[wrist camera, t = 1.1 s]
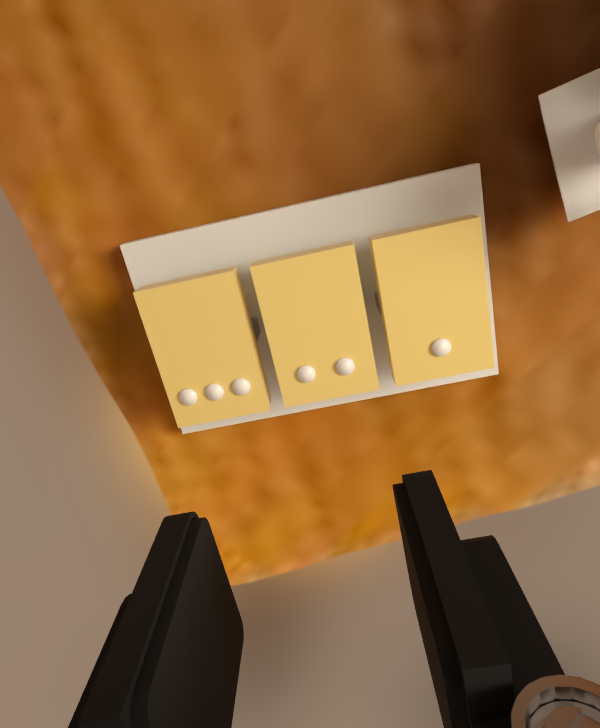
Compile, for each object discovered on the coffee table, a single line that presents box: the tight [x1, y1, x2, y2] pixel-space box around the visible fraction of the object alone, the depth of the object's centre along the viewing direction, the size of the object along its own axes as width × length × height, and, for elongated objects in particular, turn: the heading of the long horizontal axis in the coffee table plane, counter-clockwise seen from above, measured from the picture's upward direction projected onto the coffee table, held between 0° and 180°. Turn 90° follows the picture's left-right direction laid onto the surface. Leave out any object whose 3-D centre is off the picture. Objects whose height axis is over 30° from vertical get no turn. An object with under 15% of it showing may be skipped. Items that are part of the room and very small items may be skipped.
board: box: [120, 163, 499, 434], centre depth 34 cm, size 14×23×4 cm, turn 102°
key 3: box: [133, 265, 271, 428], centre depth 32 cm, size 9×6×2 cm, turn 12°
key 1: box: [368, 214, 495, 386], centre depth 30 cm, size 9×6×2 cm, turn 12°
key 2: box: [250, 240, 380, 408], centre depth 31 cm, size 9×6×2 cm, turn 12°
